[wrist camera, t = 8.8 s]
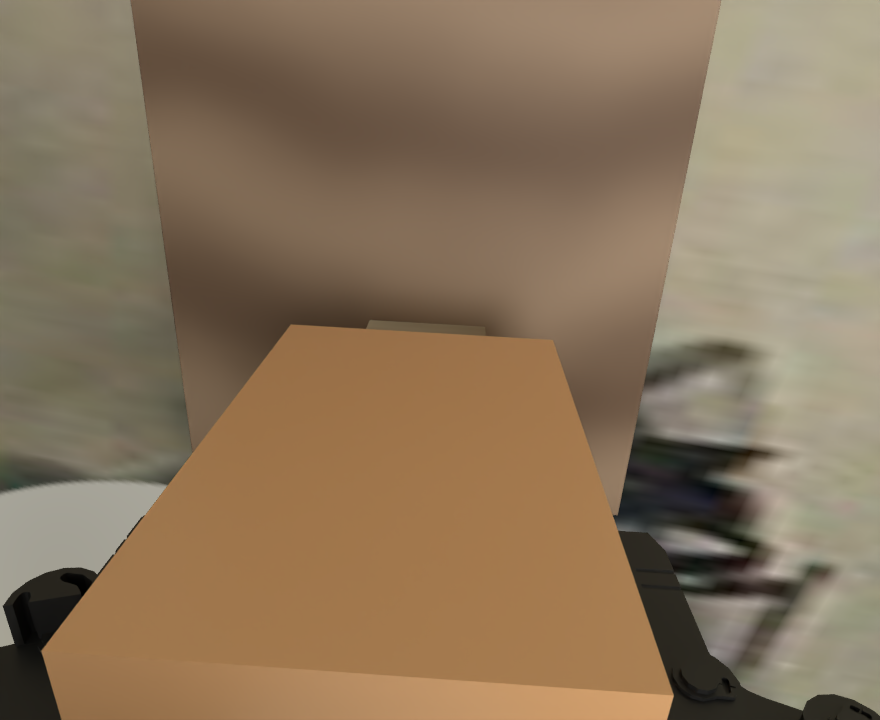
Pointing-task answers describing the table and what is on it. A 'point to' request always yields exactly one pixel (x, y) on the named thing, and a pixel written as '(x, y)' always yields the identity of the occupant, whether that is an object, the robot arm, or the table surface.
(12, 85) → the table surface
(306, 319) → the walnut board
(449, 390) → the upright tan block
